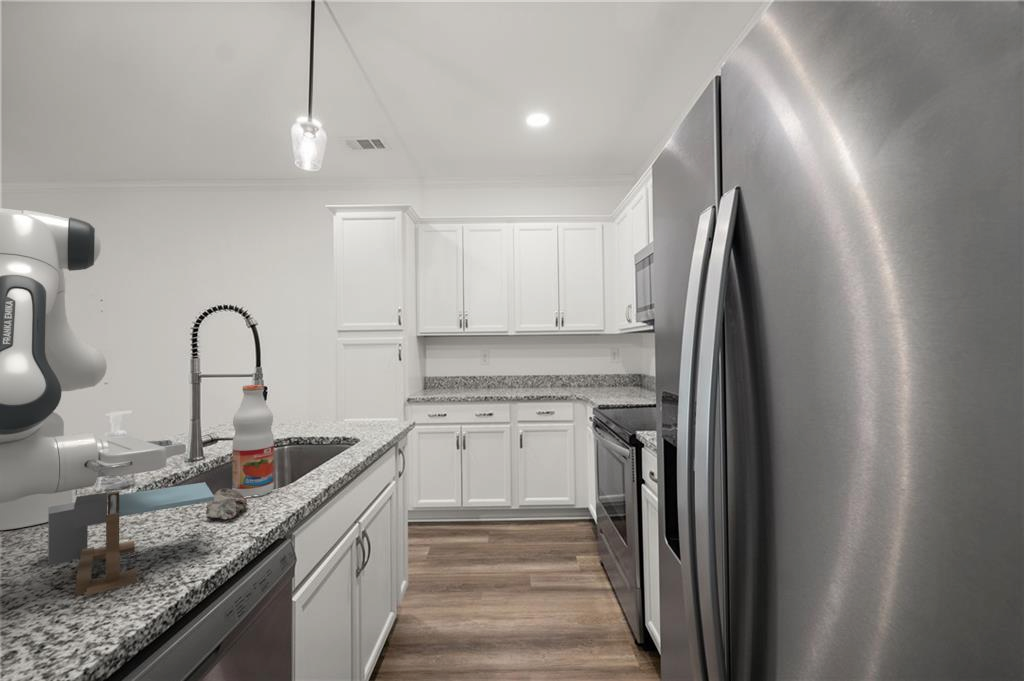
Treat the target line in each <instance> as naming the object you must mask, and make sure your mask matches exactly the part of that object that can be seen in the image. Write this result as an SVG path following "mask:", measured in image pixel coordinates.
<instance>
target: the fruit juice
mask: <svg viewBox="0 0 1024 681" xmlns="http://www.w3.org/2000/svg"><path fill="white" fill-rule="evenodd" d="M241 390H242V393H243V397H242V400H241V403H240V406H239V408H238V410H237V411H236V412H235V414H234V415H233V419H232V420H233V422H232V423H233V424H232V425H233V427H234V430H235V431H234V435H233V439H232V447H231V448H232V490H237V491H239V492H240V493H241V495H243V497H246V496H254V495H258V496H254V497H246V498H245V499H249V498H257V497H261V496H265V495H268V494H271V492H273V490H274V486H275V476H274V474H275V469H274V468H275V467H274V466H275V465H274V464H275V463H274V462H275V460H274V458H275V457H274V456H275V454H274V452H275V450H274V447H275V445H274V444H275V440H274V434H273V432H272V425H273V422H274V418H273V417H274V415H273V412H272V411H271V410H270V409H269V406H268V404H267V402H266V400H265V396H264V391H265V385H263V384H250V385H249V384H248V385H243V386H242V388H241ZM267 493H268V494H267ZM261 494H262V495H261Z"/></svg>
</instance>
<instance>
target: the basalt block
mask: <svg viewBox="0 0 1024 681" xmlns="http://www.w3.org/2000/svg"><path fill="white" fill-rule="evenodd" d="M74 505H75V502H74V503H69V504H63V505H58V506H52V507H48V522H47V526H48V527H47V531H48V532H47V561H48V564H49V565H50V566H53V564H54V565H56V564H57V563H58V564H61V563H60V562H62V563H66V562H69V560H70V561H73V559H74V560H77V558H78V559H80V557H81V552H82V549H85V548H88V541H89V540H88V533H89V532H88V526H83V527H77V528H73V524H74ZM65 561H66V562H65ZM49 565H48V566H49Z"/></svg>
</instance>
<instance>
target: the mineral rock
mask: <svg viewBox="0 0 1024 681" xmlns="http://www.w3.org/2000/svg"><path fill="white" fill-rule="evenodd" d="M213 495H214V501H210V502H206V503H207V505H206V517H208V518H212V519H213V518H216V519H222V520H227V519H232V518H235V517H236V516H237V515H239V514H238V513H241V514H243V513H244V512H245V511H246V509H247V506H248V500H247V498H244V497H243V495H241V493H240V492H239V491H237V490H233V488H224V487H223V488H222V487H221V488H219V490H217V491H215V494H213Z"/></svg>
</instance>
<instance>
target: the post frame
mask: <svg viewBox="0 0 1024 681" xmlns="http://www.w3.org/2000/svg"><path fill="white" fill-rule="evenodd" d="M112 495H116V513H114V514H110V501H111V496H112ZM119 495H120V491H119V490H117V491H111V492H108V501H107V515H106V523H105V546H102V547H97V548H95V547H94V546H92V547H87V548H85V549H82V552H81V557H80V558H79V564H78V570H77V573H76V579H75V585H74V587H75V588H74V590H75V595H74V596H79V595H83V594H86V596H92V595H94V594H95V595H96V594H99V593H103V592H105V591H109V590H113V589H117V588H122V587H126V586H129V585H132V584H137V583H138V573H137V571H138V570H137V568H133V569H129V570H125V571H121V572H120V555H124V554H130V553H133V552H135V551H136V550H135V549H136V547H135V540H130V541H125V542H120V517H119ZM129 552H130V553H129ZM103 559H105V576H101V577H98V578H92V573H93V567H94V566H93V565H94V561H93V560H95V561H99V560H103Z"/></svg>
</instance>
